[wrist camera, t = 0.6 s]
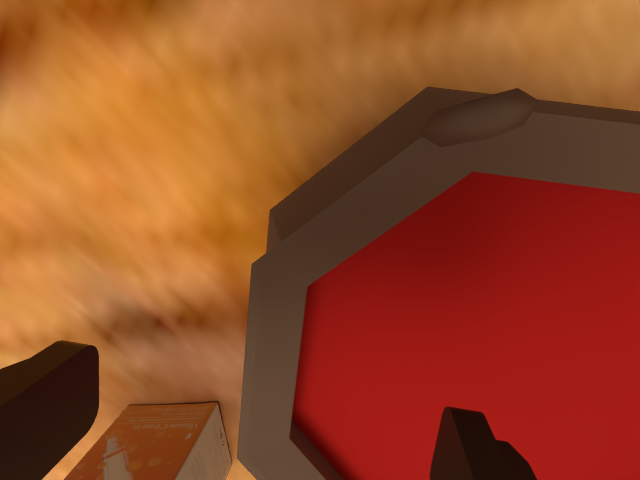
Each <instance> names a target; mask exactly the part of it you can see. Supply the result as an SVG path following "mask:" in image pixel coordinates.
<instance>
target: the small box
mask: <svg viewBox="0 0 640 480" xmlns="http://www.w3.org/2000/svg"><path fill="white" fill-rule="evenodd" d="M231 465H232V462H231V458H230V453H229V449H228V445H227V440H226V436H225V432H224V428H223V423H222V419H221V415H220V411H219V406H218V403H217V402H213V403H201V404H177V405H131V406H128V407H127V408H126V409H125V410H124V411H123V412H122V413H121V414H120V416H119V417H118V418H117V419H116V420H115V421H114V422H113V424H112V425H111V426H110V427H109V428H108V429H107V431H106V432H105V433H104V434H103V435H102V436H101V437H100V439H99V440H98V441H97V442H96V443H95V444H94V445H93V447H92V448H91V449H90V450H89V451H88V452H87V453H86V455H85V456H84V457H83V458H82V459H81V460H80V462H79V463H78V464H77V465H76V466H75V467H74V468H73V470H72V471H71V472H70V473H69V474H68V475H67V477H66V478H65V479H64V480H226V477H227V475H228V472H229V470H230V467H231Z"/></svg>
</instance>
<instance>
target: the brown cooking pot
mask: <svg viewBox="0 0 640 480" xmlns="http://www.w3.org/2000/svg"><path fill="white" fill-rule="evenodd" d="M446 406H449V407H455V408H461V409H467V410H473V411H479V412H482V413H483V414H484V415H485V417H486V419H487V422H488V424H489V426H490V428H491V430H492V433H493V435H494V437H495V439H496V440H501V441H506V442H509V443H510V444H511V445H512V446H513V447H514V448H515V449H516V450H517V451H518V452H519V453H520V454H521V455H522V456H523V458H524V459H525V460H526V461H527V462H528V463H529V465H530V467H531V468H532V470H533V472H534V474H535V476H536V478H537V480H640V112H638V111H629V110H621V109H612V108H604V107H595V106H587V105H578V104H570V103H561V102H553V101H544V100H537V99H535V98H533V97H532V96H530V95H528V94H527V93H525V92H523V91H522V90H520V89H518V88H516V89H513V90H509V91H505V92H502V93H498V94H494V95H493V94H485V93H476V92H468V91H459V90H451V89H442V88H434V87H427V88H425V89H424V90H423V91H421V92H420V93H419V94H418V95H416V96H415V97H414V98H412V99H411V100H410V101H409V102H407V103H406V104H405V105H404V106H402V107H401V108H400V109H398V110H397V111H396V112H395V113H393V114H392V115H391V116H389V117H388V118H387V119H386V120H384V121H383V122H382V123H381V124H379V125H378V126H377V127H375V128H374V129H373V130H372V131H370V132H369V133H368V134H366V135H365V136H364V137H363V138H361V139H360V140H359V141H357V142H356V143H355V144H354V145H352V146H351V147H350V148H349V149H347V150H346V151H345V152H343V153H342V154H341V155H340V156H338V157H337V158H336V159H334V160H333V161H332V162H331V163H329V164H328V165H327V166H326V167H324V168H323V169H322V170H320V171H319V172H318V173H317V174H315V175H314V176H313V177H311V178H310V179H309V180H308V181H306V182H305V183H304V184H303V185H301V186H300V187H299V188H297V189H296V190H295V191H294V192H292V193H291V194H290V195H288V196H287V197H286V198H285V199H283V200H282V201H281V202H280V203H278V204H277V205H276V206H274V207H273V208H272V209H271V210H270V215H269V227H268V238H267V250H266V254H264V255H263V256H262V257H260V258H259V259H258V260H256V261H255V262H254V263H252V268H251V281H250V294H249V307H248V320H247V333H246V346H245V360H244V373H243V386H242V399H241V412H240V425H239V438H238V451H237V459H238V460H239V461H240V462H241V463H242V464H243V465H244V466H245V468H246V469H247V470H248V471H249V472H250V473H251V474H252V475H253V476H254V477H255V478H256V479H257V480H430V469H431V463H432V458H433V454H434V449H435V445H436V440H437V435H438V431H439V426H440V421H441V417H442V413H443V410H444V408H445V407H446Z"/></svg>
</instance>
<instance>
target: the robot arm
mask: <svg viewBox="0 0 640 480" xmlns="http://www.w3.org/2000/svg"><path fill="white" fill-rule="evenodd" d="M98 408H99V354H98V350H97V348H96V347H95V346H92V345H87V344H81V343H75V342H69V341H63V340H62V341H57V342H55V343H53V344H52V345H50V346H49V347H47V348H45V349H44V350H42V351H41V352H39V353H37V354H36V355H34V356H33V357H31V358H29V359H26V360H23V361H21V362H18V363H15V364H13V365H10V366H7V367H5V368H2V369H0V480H42V479H43V478H44V477H45V476H46V475H47V474H48V473H49V472H50V470H51V469H52V468H53V467H54V466H55V465H56V464H57V463H58V462H59V461H60V460H61V459H62V458H63V457H64V456H65V455H66V454H67V453H68V452H69V451H70V450H71V449H72V448H73V447H74V446H75V445H76V444H77V443H78V442H79V441H80V440H81V439H82V438H83V437H84V436H85V435H86V433H87V432H88V431H89V430H90V428H91V426H92V425H93V423H94V421H95V418H96V416H97V412H98ZM430 480H537V478H536V476H535V474H534V472H533V470H532V468H531V467H530V465H529V463H528V462H527V461H526V460H525V459H524V458H523V456H522V455H521V454H520V453H519V452H518V451H517V450H516V449H515V448H514V447H513V446H512V445H511V444H510V443H509V442H506V441H501V440H496V439H495V437H494V435H493V433H492V430H491V428H490V426H489V424H488V422H487V419H486V417H485V415H484V414H483V413H482V412H479V411H473V410H467V409H461V408H455V407H449V406H446V407H445V408H444V410H443V413H442V417H441V421H440V426H439V431H438V435H437V440H436V445H435V449H434V454H433V458H432V463H431V469H430Z"/></svg>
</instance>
